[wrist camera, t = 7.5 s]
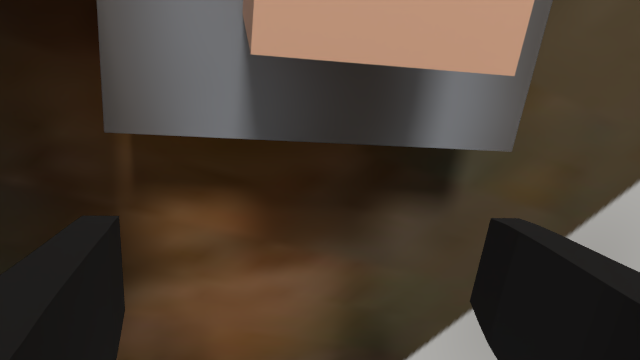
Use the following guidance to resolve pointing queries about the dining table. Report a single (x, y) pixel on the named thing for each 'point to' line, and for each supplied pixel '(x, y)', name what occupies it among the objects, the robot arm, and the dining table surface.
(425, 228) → the dining table surface
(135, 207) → the dining table surface
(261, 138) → the grey flat square block
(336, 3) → the terracotta cube
